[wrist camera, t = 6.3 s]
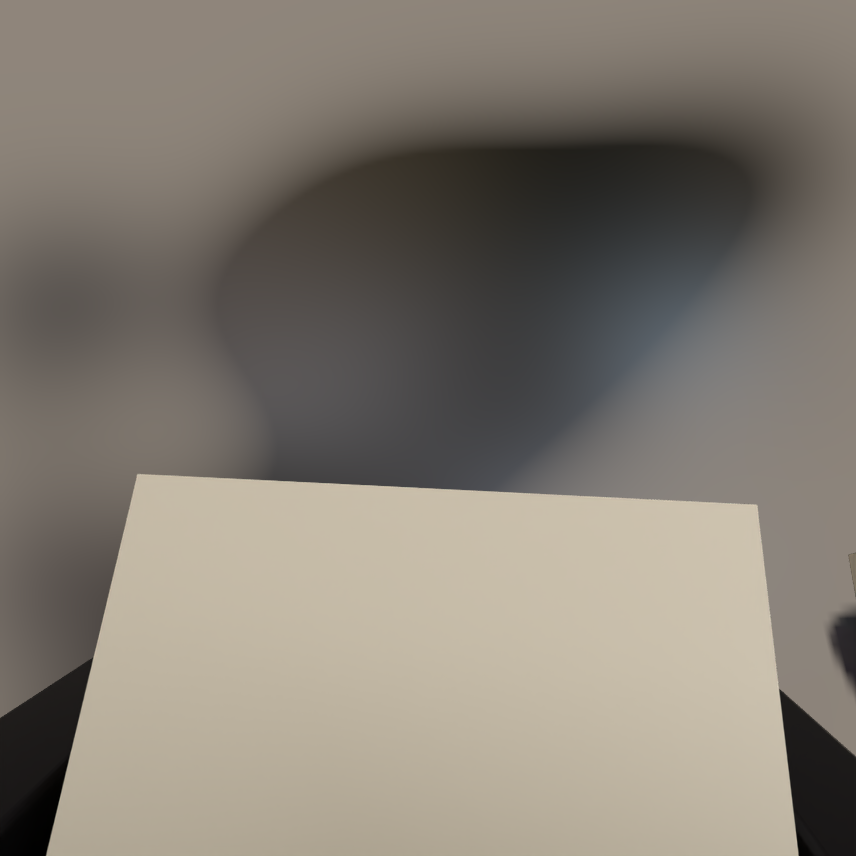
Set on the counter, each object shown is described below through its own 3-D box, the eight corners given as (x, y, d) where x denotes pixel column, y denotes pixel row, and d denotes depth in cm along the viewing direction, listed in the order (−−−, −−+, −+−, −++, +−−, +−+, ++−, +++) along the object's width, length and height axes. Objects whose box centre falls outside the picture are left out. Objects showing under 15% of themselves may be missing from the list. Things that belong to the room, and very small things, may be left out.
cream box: (565, 826, 13) (869, 1368, 3) (335, 804, 14) (-50, 1220, 4) (563, 607, 15) (763, 499, 5) (357, 594, 15) (132, 468, 5)
